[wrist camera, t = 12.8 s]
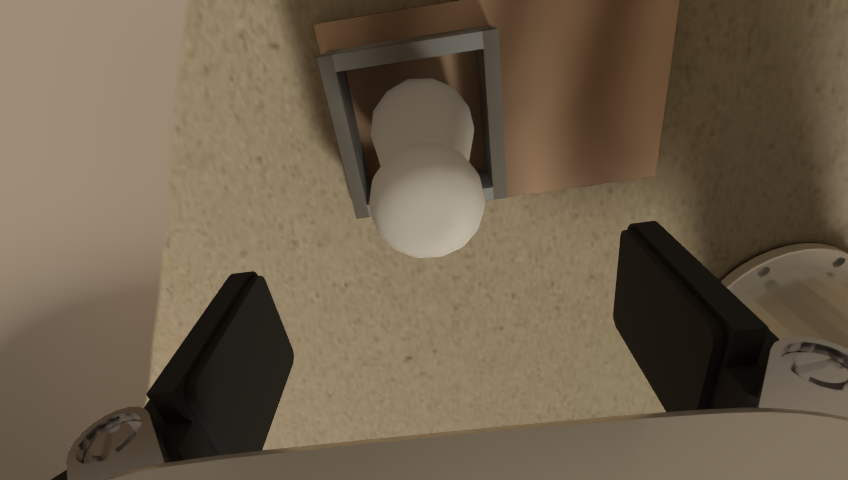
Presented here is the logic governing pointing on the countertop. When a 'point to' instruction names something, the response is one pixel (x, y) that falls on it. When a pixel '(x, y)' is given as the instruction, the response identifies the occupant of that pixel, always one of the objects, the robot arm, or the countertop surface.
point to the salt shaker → (424, 170)
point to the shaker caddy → (513, 86)
